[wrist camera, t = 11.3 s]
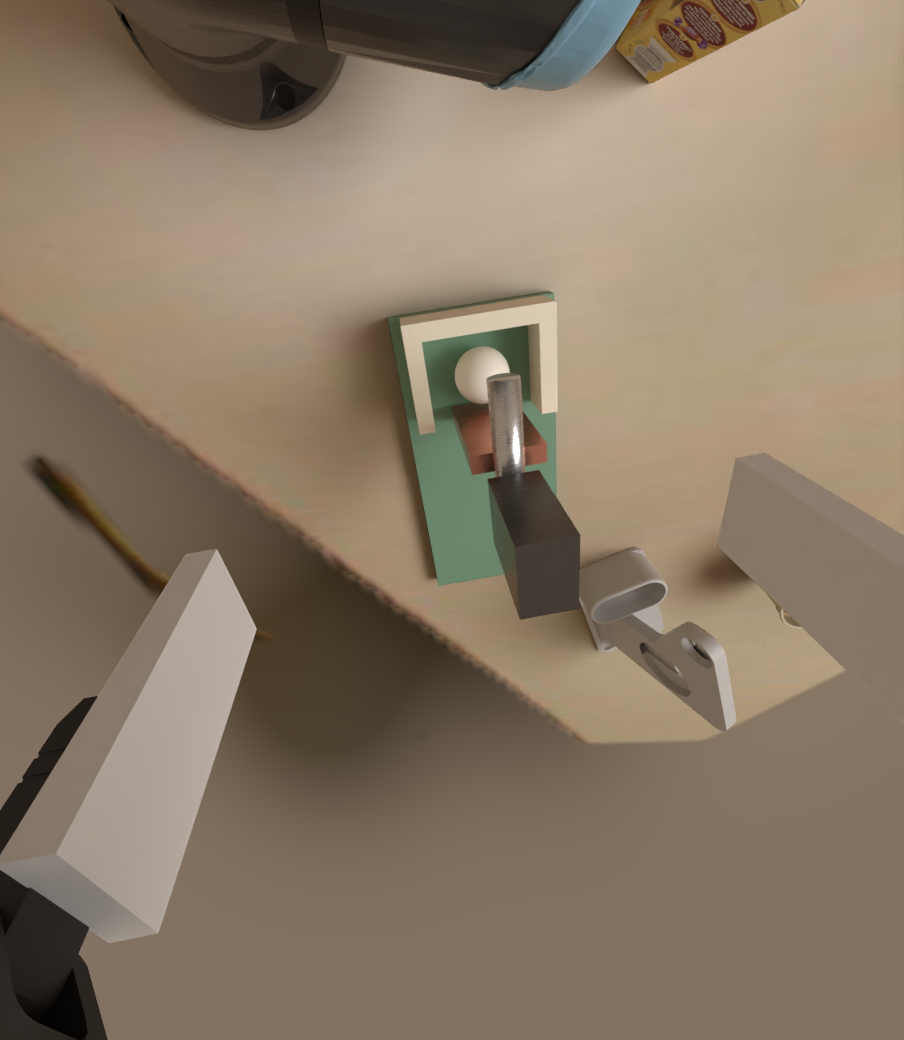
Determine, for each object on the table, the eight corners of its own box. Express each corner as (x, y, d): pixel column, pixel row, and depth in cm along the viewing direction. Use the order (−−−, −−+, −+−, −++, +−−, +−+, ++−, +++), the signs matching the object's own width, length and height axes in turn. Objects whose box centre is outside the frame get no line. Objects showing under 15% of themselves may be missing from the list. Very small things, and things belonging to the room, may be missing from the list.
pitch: (388, 317, 43) (388, 328, 38) (549, 291, 43) (568, 298, 39) (437, 578, 60) (442, 607, 55) (553, 557, 60) (567, 585, 55)
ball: (472, 346, 39) (481, 407, 40) (518, 339, 41) (524, 397, 43) (439, 353, 43) (448, 409, 44) (483, 347, 45) (489, 399, 47)
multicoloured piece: (443, 348, 43) (487, 440, 24) (508, 337, 43) (601, 421, 24) (460, 474, 50) (505, 622, 31) (516, 464, 50) (593, 606, 31)
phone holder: (567, 571, 62) (626, 684, 46) (641, 541, 60) (727, 646, 45) (599, 651, 71) (657, 768, 55) (664, 626, 69) (741, 738, 54)
